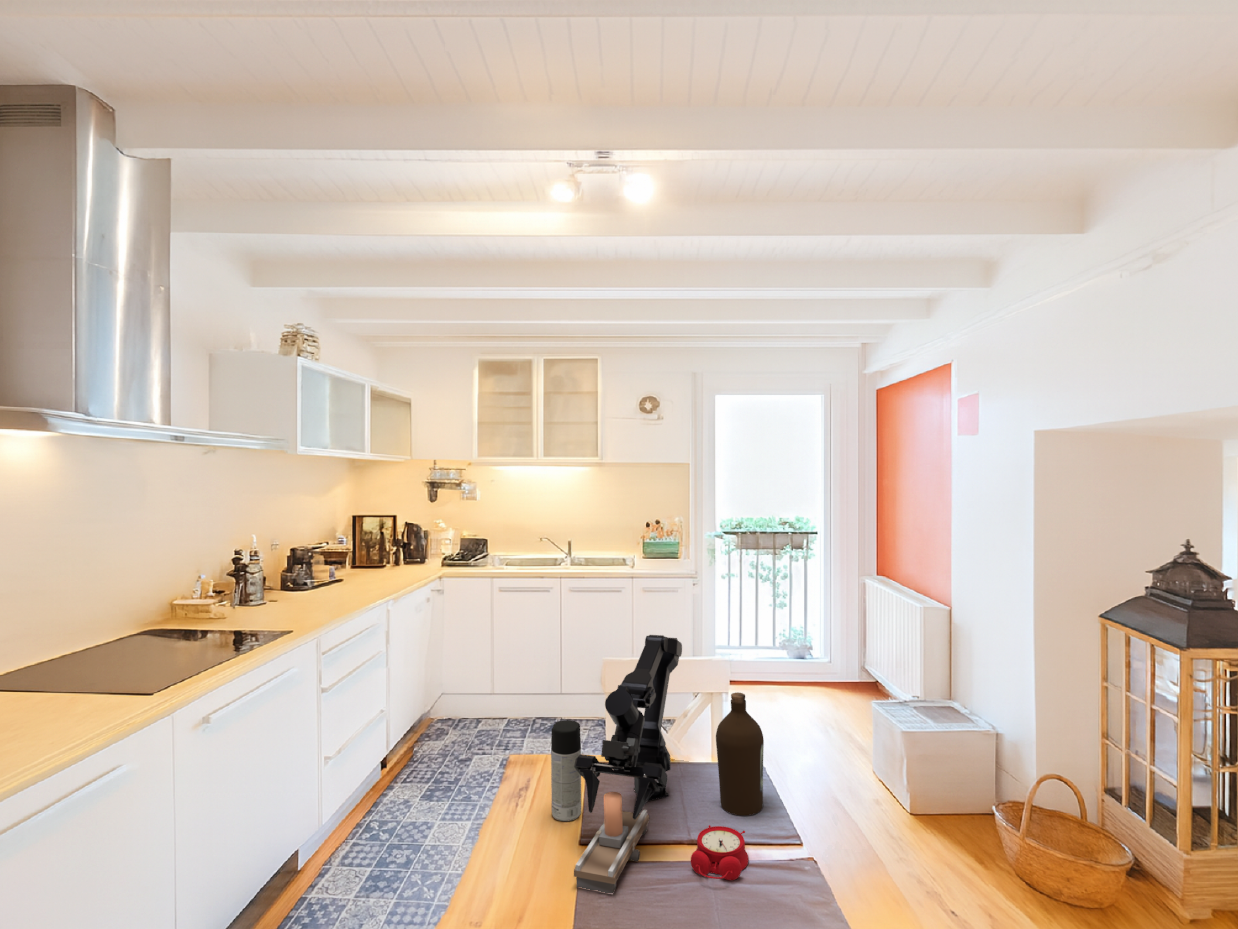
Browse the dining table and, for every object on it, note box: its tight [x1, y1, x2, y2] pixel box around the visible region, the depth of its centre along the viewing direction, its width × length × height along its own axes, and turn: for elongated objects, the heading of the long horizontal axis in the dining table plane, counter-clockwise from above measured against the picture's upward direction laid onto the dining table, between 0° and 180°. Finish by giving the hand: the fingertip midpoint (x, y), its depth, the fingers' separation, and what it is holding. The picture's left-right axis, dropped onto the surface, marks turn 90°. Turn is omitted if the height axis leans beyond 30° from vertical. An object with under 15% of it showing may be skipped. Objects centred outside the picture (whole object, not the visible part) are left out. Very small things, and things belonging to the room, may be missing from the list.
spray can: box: [550, 719, 582, 822], centre depth 146 cm, size 7×7×20 cm
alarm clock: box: [690, 824, 749, 881], centre depth 126 cm, size 10×6×15 cm
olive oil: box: [715, 692, 765, 817], centre depth 147 cm, size 11×11×25 cm
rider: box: [599, 791, 628, 848], centre depth 129 cm, size 5×4×9 cm
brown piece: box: [573, 809, 650, 894], centre depth 129 cm, size 22×10×4 cm, turn 161°
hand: (611, 815), depth 129 cm, fingers open, 9 cm apart
